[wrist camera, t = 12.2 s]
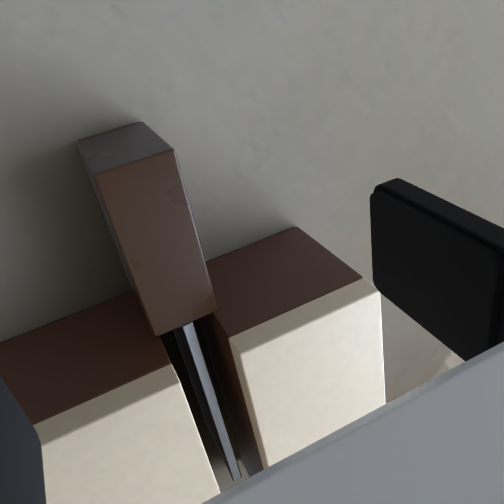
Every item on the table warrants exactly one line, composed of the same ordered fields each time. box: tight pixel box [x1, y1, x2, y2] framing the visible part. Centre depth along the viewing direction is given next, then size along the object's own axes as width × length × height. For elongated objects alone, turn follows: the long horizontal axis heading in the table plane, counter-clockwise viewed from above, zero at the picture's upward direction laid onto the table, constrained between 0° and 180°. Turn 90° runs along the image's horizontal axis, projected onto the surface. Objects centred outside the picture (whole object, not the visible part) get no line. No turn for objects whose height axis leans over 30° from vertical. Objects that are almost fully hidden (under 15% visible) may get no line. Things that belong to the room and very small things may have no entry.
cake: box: [0, 227, 385, 504], centre depth 21 cm, size 13×13×6 cm
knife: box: [76, 122, 242, 481], centre depth 19 cm, size 15×2×4 cm, turn 11°
